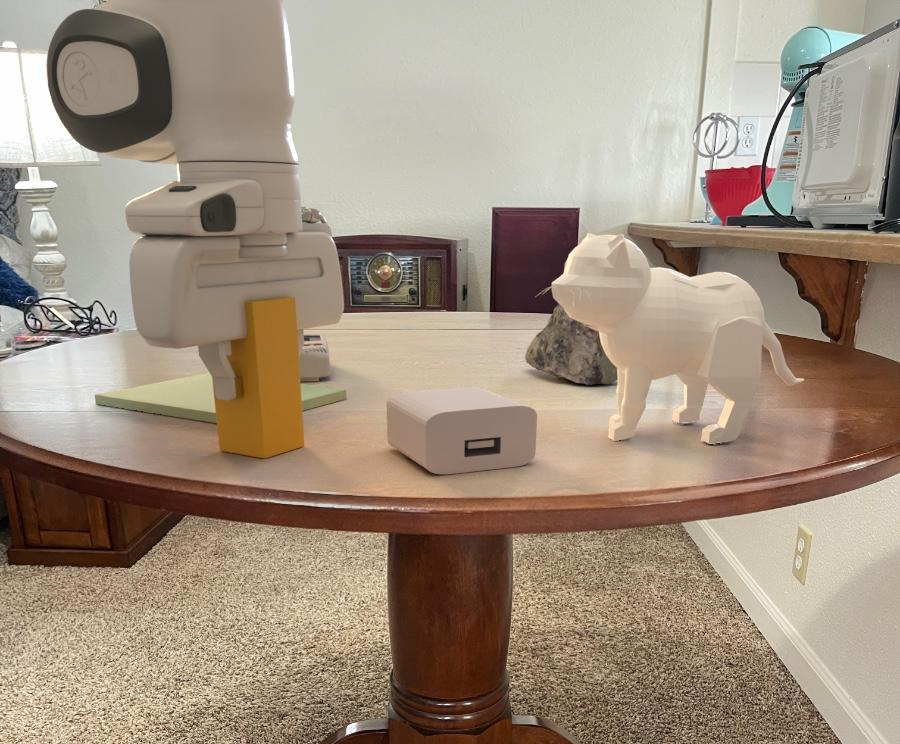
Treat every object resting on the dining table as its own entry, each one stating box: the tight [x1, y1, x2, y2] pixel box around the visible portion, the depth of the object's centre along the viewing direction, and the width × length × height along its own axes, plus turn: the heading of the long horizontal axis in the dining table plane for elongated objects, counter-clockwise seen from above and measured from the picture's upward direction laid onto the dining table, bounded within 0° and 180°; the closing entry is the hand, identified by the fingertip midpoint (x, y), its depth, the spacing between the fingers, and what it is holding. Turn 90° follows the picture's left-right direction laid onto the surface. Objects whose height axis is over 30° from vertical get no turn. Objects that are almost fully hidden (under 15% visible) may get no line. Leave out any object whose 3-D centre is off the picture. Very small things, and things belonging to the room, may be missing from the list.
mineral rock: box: [524, 303, 618, 386], centre depth 105 cm, size 13×11×10 cm
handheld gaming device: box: [299, 333, 331, 383], centre depth 109 cm, size 9×15×4 cm, turn 9°
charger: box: [386, 386, 538, 475], centre depth 74 cm, size 5×9×15 cm
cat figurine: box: [535, 232, 805, 443], centre depth 77 cm, size 25×10×17 cm, turn 102°
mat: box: [94, 372, 348, 424], centre depth 92 cm, size 20×16×1 cm
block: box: [212, 297, 305, 460], centre depth 72 cm, size 5×5×12 cm
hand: (257, 392), depth 72 cm, fingers closed on block, 5 cm apart
